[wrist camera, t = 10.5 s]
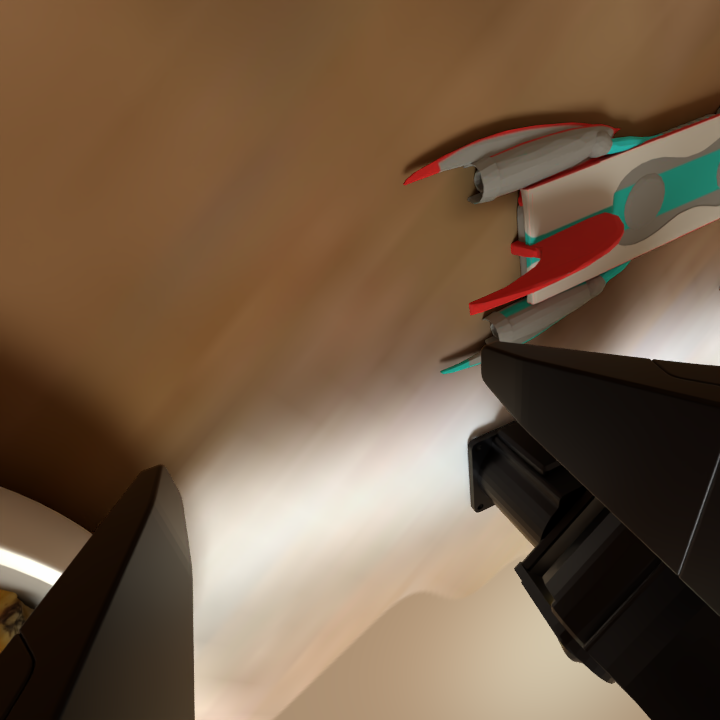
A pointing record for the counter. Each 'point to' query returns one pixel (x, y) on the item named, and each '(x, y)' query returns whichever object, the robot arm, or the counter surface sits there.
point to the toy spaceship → (585, 209)
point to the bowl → (31, 556)
